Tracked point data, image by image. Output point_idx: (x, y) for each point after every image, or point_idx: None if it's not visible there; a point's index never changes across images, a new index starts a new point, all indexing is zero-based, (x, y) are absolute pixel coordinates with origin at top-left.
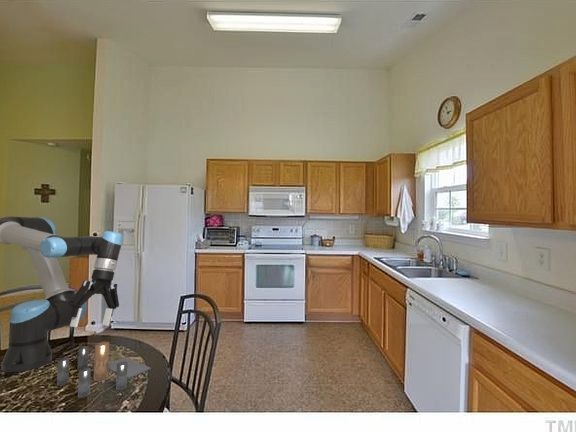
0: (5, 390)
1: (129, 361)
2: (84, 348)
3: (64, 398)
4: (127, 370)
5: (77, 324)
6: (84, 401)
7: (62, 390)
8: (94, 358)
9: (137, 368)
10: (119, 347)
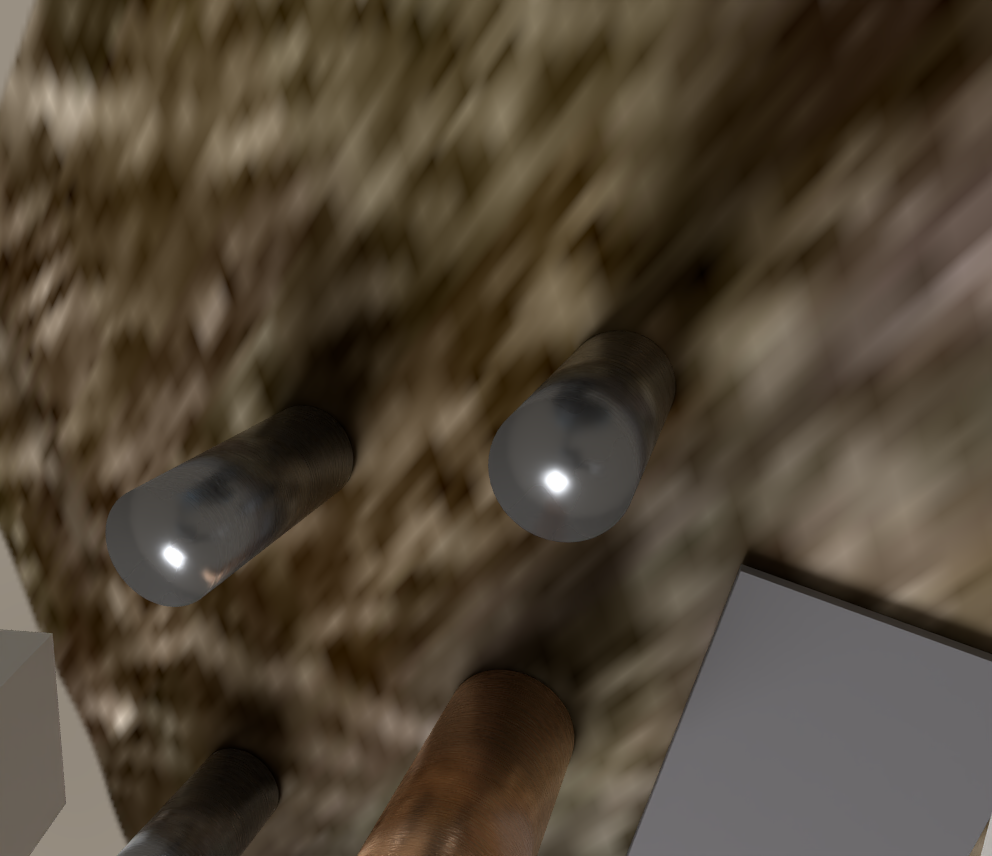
0: (32, 28)
1: (938, 817)
2: (535, 517)
3: (165, 667)
4: None
5: (25, 848)
6: None
7: None
8: (370, 834)
9: None
10: None
